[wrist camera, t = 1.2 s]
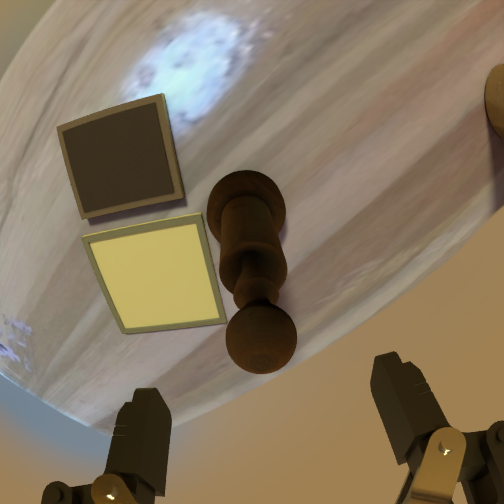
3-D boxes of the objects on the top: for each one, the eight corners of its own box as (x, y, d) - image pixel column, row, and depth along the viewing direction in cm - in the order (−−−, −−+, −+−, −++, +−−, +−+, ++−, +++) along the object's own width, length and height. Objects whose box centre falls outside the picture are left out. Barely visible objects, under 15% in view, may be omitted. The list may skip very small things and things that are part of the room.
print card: (201, 212, 28) (200, 214, 27) (226, 319, 34) (226, 322, 33) (83, 235, 28) (81, 238, 28) (123, 330, 34) (122, 333, 33)
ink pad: (163, 93, 23) (160, 93, 22) (184, 194, 27) (182, 198, 26) (61, 125, 23) (55, 127, 22) (86, 215, 27) (81, 220, 26)
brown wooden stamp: (258, 251, 30) (285, 419, 14) (195, 221, 28) (157, 383, 12) (295, 191, 28) (376, 329, 12) (230, 156, 26) (227, 264, 10)
